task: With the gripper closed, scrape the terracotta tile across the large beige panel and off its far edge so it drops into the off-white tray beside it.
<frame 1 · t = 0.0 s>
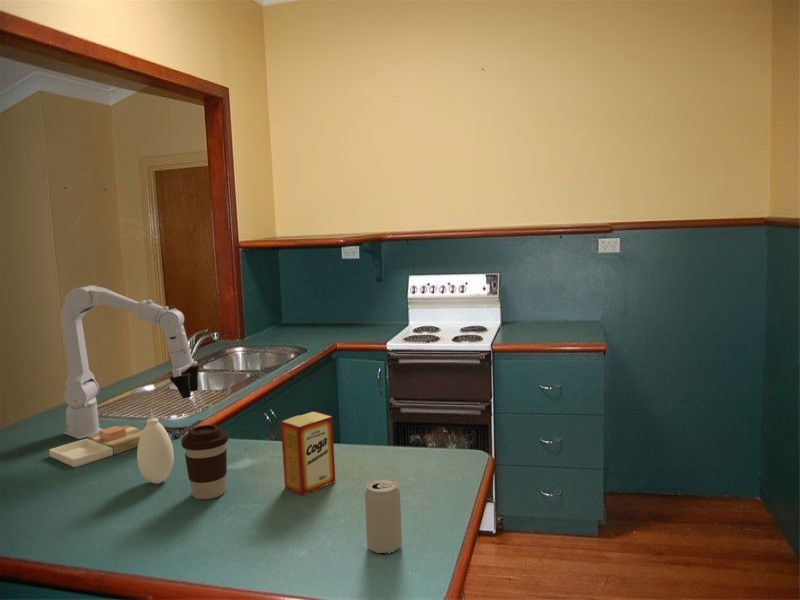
hand: (190, 394, 189), 11 cm above the counter, tool pointing down, fingers open, 7 cm apart
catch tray: (81, 455, 170), on the counter
beverage can: (384, 548, 117), on the counter
bracket: (168, 432, 190), on the counter
large beige panel: (121, 443, 179), on the counter
coffee cup: (209, 494, 143), on the counter
rubber air blower: (158, 482, 151), on the counter
tile: (112, 437, 177), point 2 cm above the counter, touching large beige panel
baking soda box: (310, 485, 146), on the counter
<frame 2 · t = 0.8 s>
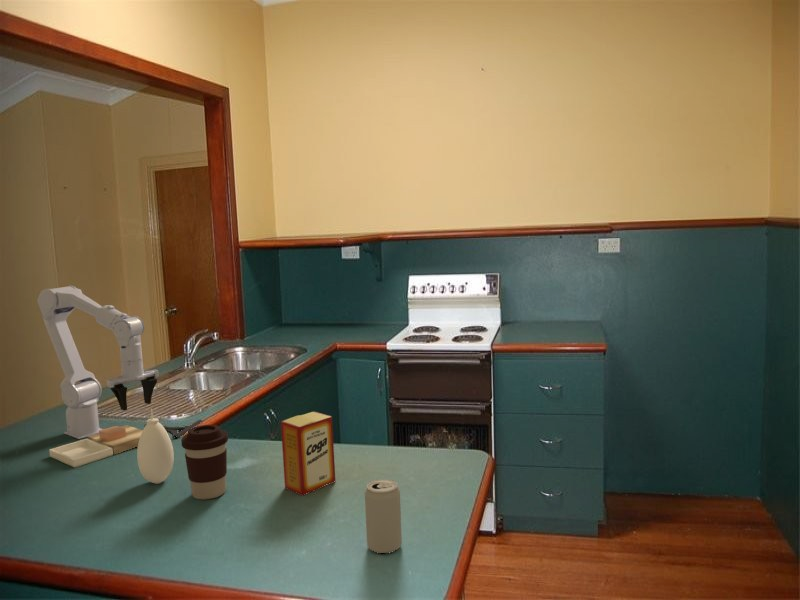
hand: (136, 406, 182), 9 cm above the counter, tool pointing down, fingers open, 7 cm apart
nothing on the counter moved.
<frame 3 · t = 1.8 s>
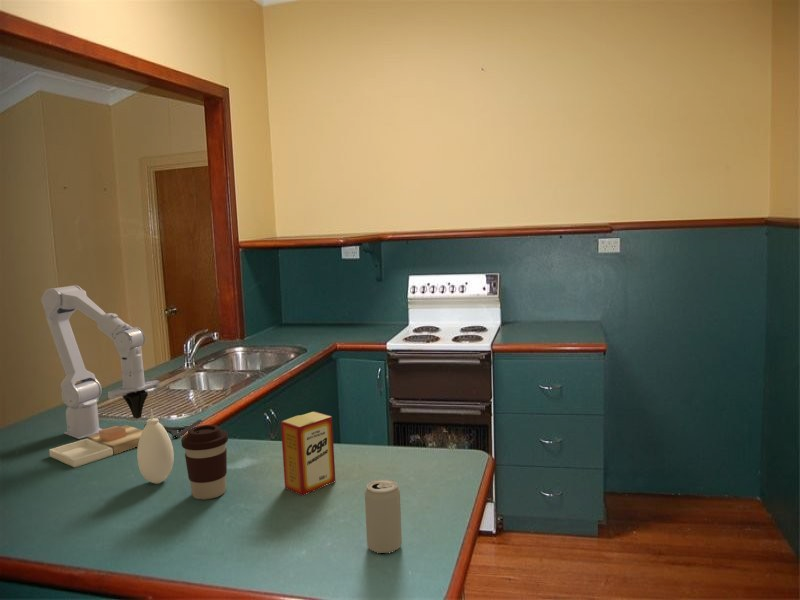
hand: (137, 417, 182), 6 cm above the counter, tool pointing down, fingers closed
nothing on the counter moved.
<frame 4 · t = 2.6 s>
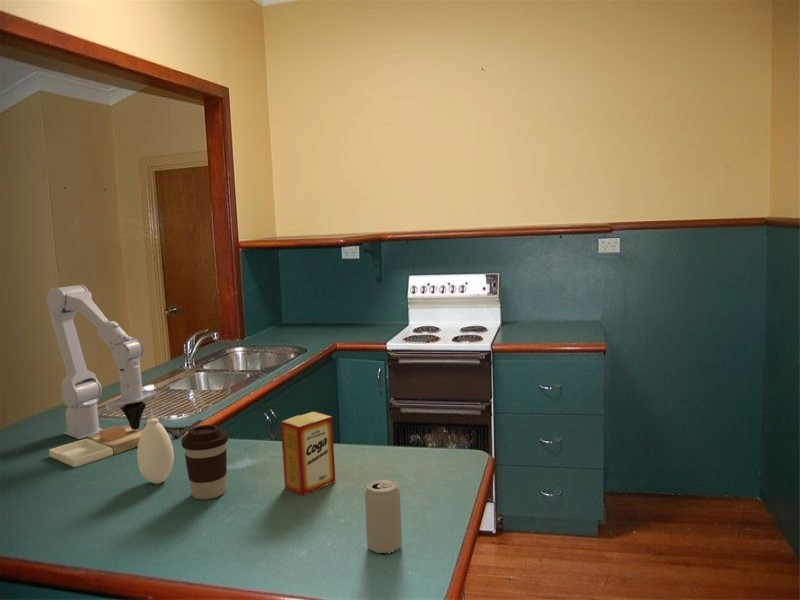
hand: (135, 428, 182), 3 cm above the counter, tool pointing down, fingers closed
nothing on the counter moved.
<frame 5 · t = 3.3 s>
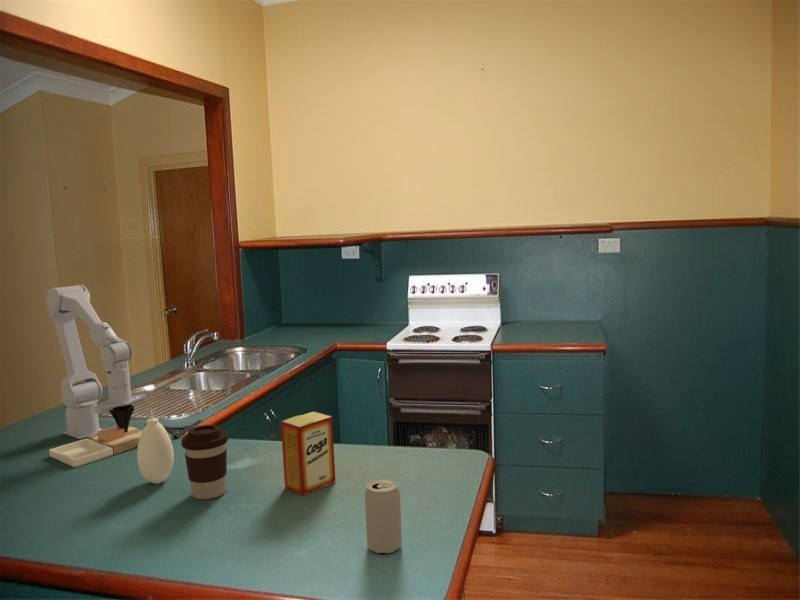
hand: (123, 432, 179), 3 cm above the counter, tool pointing down, fingers closed
tile: (111, 437, 176), point 3 cm above the counter, touching gripper
everything else where it was.
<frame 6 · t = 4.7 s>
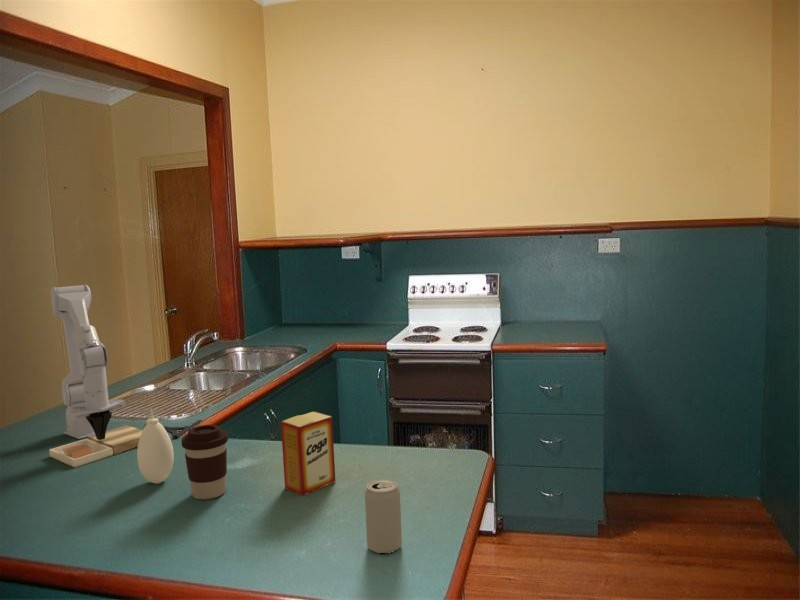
hand: (100, 438, 174), 3 cm above the counter, tool pointing down, fingers closed
tile: (77, 447, 169), point 3 cm above the counter, tilted 180°, touching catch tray
everything else where it was.
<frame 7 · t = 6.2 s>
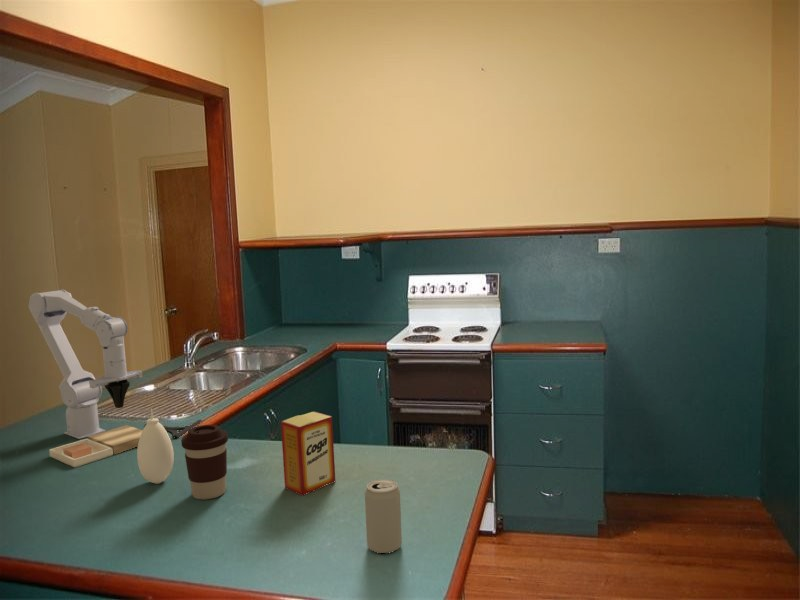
hand: (119, 407, 182), 9 cm above the counter, tool pointing down, fingers closed
nothing on the counter moved.
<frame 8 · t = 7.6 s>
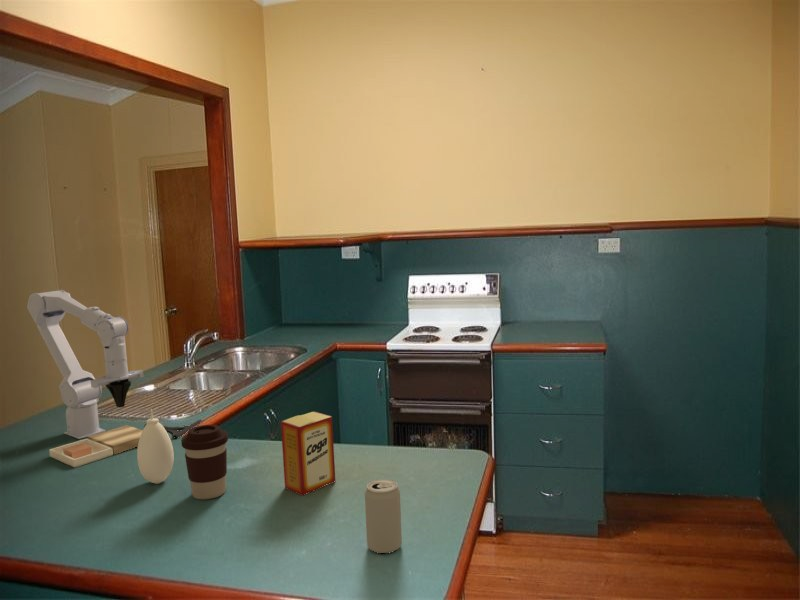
hand: (120, 406, 182), 9 cm above the counter, tool pointing down, fingers closed
nothing on the counter moved.
at the end: tile inside the target area on the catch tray (1.0 cm from its centre), point 2.6 cm above the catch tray's base; tile touching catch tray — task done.
